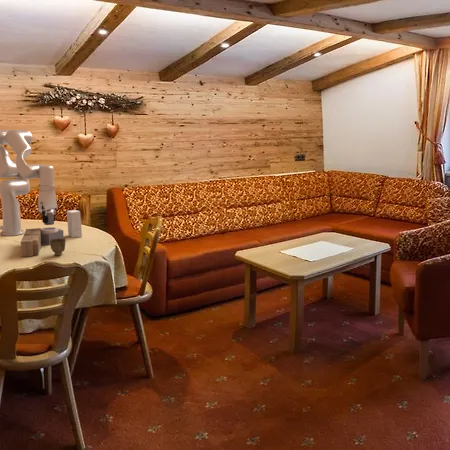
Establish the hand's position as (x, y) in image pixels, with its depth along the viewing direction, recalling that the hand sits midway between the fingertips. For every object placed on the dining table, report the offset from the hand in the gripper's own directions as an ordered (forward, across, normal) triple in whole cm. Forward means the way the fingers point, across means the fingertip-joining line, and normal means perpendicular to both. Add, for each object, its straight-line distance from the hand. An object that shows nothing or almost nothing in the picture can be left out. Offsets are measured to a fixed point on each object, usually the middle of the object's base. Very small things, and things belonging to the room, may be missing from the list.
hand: (48, 221), depth 274 cm
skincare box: (+12, -18, +3) cm, 22 cm away
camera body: (+12, 0, 0) cm, 12 cm away
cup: (+12, +21, +22) cm, 33 cm away
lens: (+1, 0, 0) cm, 1 cm away
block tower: (+12, +17, +3) cm, 21 cm away
